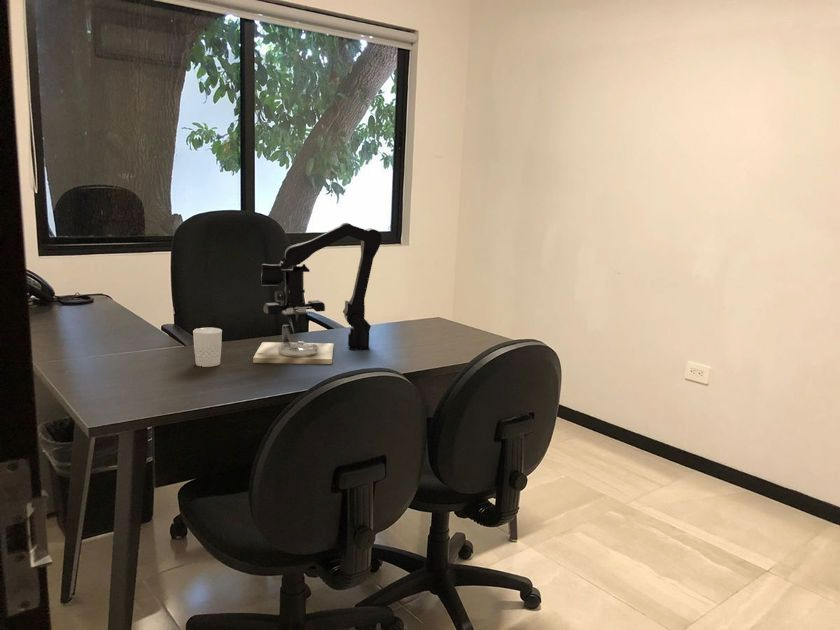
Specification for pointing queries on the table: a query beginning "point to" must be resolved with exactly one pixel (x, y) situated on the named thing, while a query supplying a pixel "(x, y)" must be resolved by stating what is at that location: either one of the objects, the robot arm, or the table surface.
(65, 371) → the table surface
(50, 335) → the table surface
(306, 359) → the base plate
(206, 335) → the white cup
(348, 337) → the robot arm
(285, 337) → the grey metal part
